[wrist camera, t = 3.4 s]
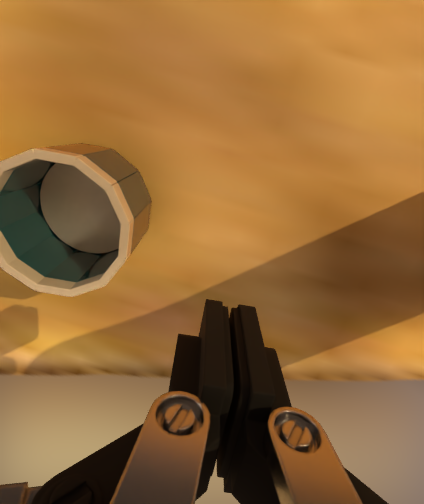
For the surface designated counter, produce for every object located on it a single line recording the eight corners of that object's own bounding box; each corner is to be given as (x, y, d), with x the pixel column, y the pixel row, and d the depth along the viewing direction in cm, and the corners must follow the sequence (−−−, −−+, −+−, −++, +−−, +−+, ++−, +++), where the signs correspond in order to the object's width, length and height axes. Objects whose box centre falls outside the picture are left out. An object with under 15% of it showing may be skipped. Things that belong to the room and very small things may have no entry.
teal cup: (156, 157, 22) (135, 167, 16) (144, 265, 25) (122, 306, 19) (36, 134, 22) (-29, 136, 16) (37, 247, 24) (-18, 282, 19)
